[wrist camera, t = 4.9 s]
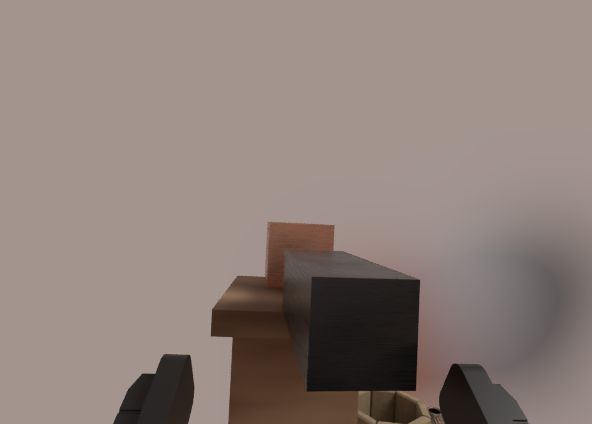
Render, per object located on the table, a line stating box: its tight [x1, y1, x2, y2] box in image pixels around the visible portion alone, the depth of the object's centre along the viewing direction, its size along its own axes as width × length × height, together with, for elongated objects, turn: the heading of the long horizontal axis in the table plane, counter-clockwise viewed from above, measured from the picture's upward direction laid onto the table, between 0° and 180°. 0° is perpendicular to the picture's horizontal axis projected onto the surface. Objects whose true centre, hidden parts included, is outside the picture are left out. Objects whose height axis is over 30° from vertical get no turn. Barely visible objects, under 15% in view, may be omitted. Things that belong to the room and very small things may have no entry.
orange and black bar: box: [265, 222, 420, 392], centre depth 22 cm, size 22×5×5 cm, turn 6°
